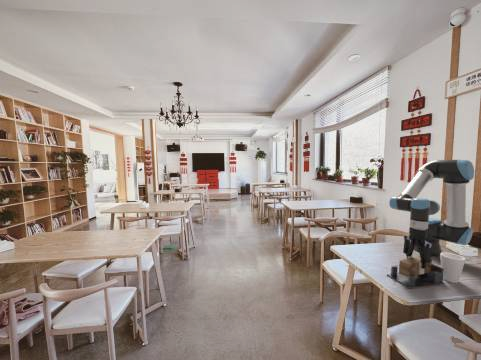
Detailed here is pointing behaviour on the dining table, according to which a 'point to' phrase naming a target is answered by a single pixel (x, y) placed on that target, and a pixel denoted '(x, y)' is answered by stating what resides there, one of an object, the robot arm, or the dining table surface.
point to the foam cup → (452, 266)
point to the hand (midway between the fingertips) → (415, 270)
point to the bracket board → (419, 277)
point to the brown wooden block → (412, 266)
